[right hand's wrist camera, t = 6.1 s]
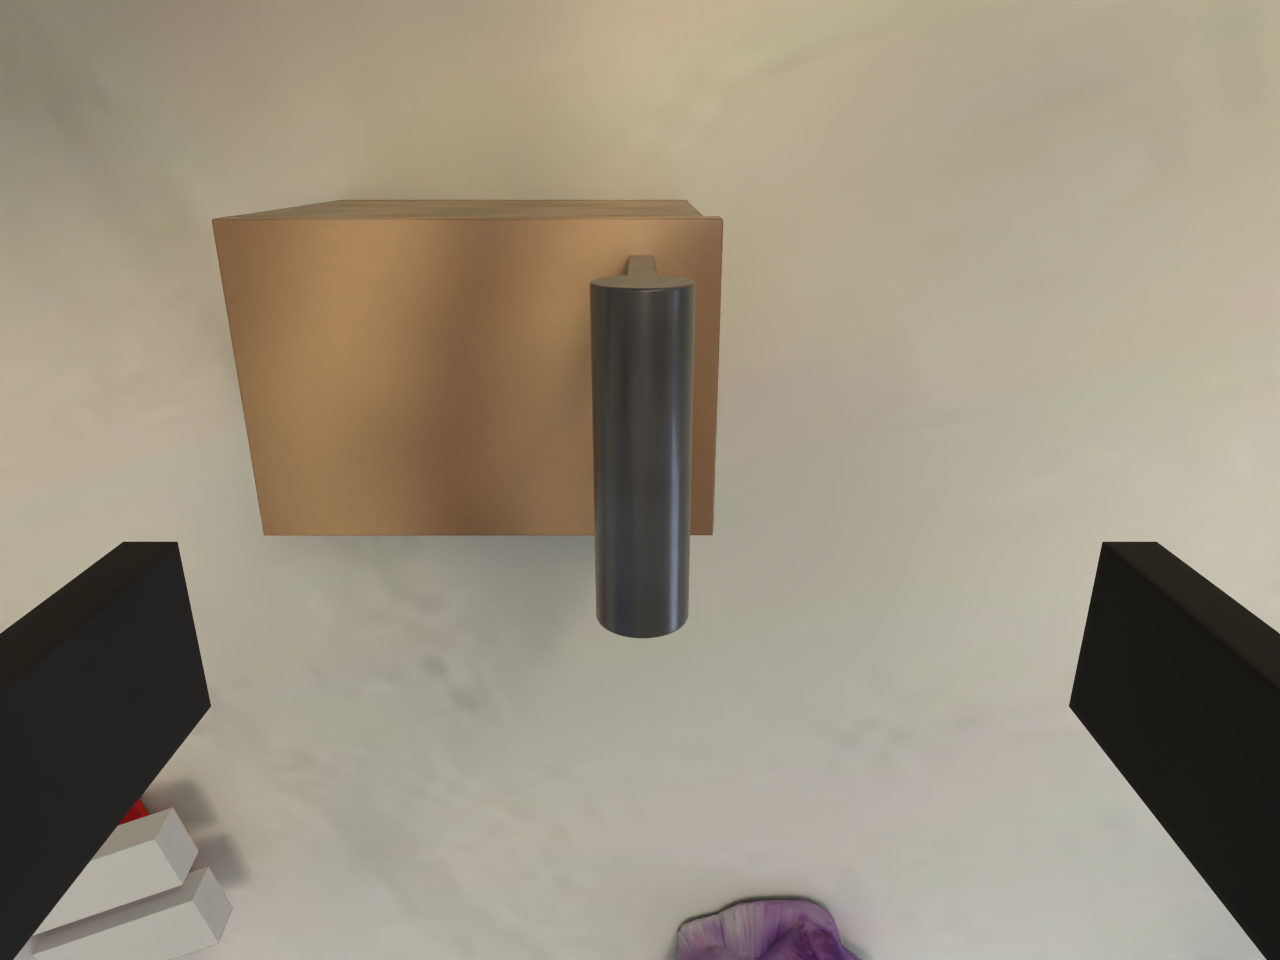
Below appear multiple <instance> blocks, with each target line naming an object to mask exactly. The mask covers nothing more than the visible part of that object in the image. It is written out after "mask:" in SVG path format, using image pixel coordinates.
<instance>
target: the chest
mask: <svg viewBox="0 0 1280 960" xmlns="http://www.w3.org/2000/svg"><path fill="white" fill-rule="evenodd" d="M238 216H703V215H702V214H701V213H699V212H698V211H697V210H696V209H695V208H694V207H693V206H692V205H691V204H690V203H689V202H688V201H687V200H338V201H332V202H326V203H319V204H312V205H305V206H299V207H292V208H285V209H278V210H271V211H265V212H258V213H251V214H244V215H238Z"/></svg>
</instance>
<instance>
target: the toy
mask: <svg viewBox="0 0 1280 960" xmlns="http://www.w3.org/2000/svg"><path fill="white" fill-rule="evenodd" d="M198 852H199V850H198V848H197V847H196V845H195V843H194V842H193V840H192V838H191V837H190V835H189V833H188V832H187V830H186V828H185V827H184V825H183V823H182V822H181V820H180V818H179V817H178V815H177V813H176V812H175V810H174V808H173V807H172V808H169V809H166V810H163V811H160V812H157V813H154V814H151V815H150V814H149V813H148V811H147V810H146V808H145V807H144V805H143V803H142V802H141V800H140V799H138V800H137V802H136V803H135V804H134V806H133V807H132V808H131V809H130V811H129V812H128V813H127V815H126V816H125V817H124V818H123V820H122V821H121V822H120V824H119V825H118V826H117V827H116V829H115V830H114V831H113V833H112V834H111V835H110V836H109V838H108V839H107V840H106V842H105V843H104V844H103V845H102V847H101V848H100V849H99V850H98V852H97V853H96V854H95V856H94V857H93V858H92V859H91V861H90V862H89V863H88V865H87V866H86V867H85V868H84V870H83V871H82V872H81V874H80V875H79V876H78V877H77V879H76V880H75V881H74V883H73V884H72V885H71V886H70V888H69V889H68V890H67V892H66V893H65V894H64V895H63V897H62V898H61V899H60V901H59V902H58V903H57V904H56V906H55V907H54V908H53V909H52V911H51V912H50V913H49V915H48V916H47V917H46V918H45V920H44V921H43V922H42V924H41V925H40V926H39V927H38V929H37V930H36V931H35V933H34V934H33V935H32V936H31V938H30V939H29V940H28V942H27V943H26V944H25V945H24V947H23V948H22V949H21V951H20V952H19V953H18V954H17V956H16V957H15V958H14V959H13V960H171V959H174V958H177V957H180V956H183V955H186V954H189V953H192V952H194V951H197V950H200V949H203V948H206V947H209V946H212V945H215V944H218V943H219V941H220V939H221V936H222V934H223V931H224V929H225V926H226V924H227V921H228V919H229V916H230V914H231V911H232V909H233V907H232V905H231V903H230V902H229V900H228V898H227V897H226V895H225V893H224V892H223V890H222V888H221V887H220V885H219V883H218V882H217V880H216V878H215V877H214V875H213V873H212V872H211V870H210V868H209V867H205V868H202V869H199V870H196V871H193V872H190V873H189V871H190V869H191V867H192V864H193V862H194V860H195V858H196V856H197V854H198Z"/></svg>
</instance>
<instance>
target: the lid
mask: <svg viewBox="0 0 1280 960" xmlns="http://www.w3.org/2000/svg"><path fill="white" fill-rule="evenodd" d="M212 224H213V230H214V236H215V242H216V248H217V254H218V260H219V266H220V272H221V278H222V284H223V290H224V296H225V302H226V308H227V314H228V320H229V326H230V332H231V338H232V344H233V351H234V357H235V363H236V369H237V375H238V381H239V387H240V393H241V399H242V405H243V411H244V417H245V423H246V429H247V435H248V441H249V447H250V453H251V459H252V465H253V471H254V477H255V483H256V489H257V495H258V501H259V507H260V513H261V519H262V525H263V531H264V535H595V574H596V616H597V619H598V621H599V623H600V624H601V625H602V626H603V627H604V628H605V629H607V630H608V631H610V632H613V633H615V634H618V635H621V636H626V637H632V638H653V637H659V636H663V635H667V634H670V633H672V632H674V631H676V630H678V629H679V628H681V627H682V626H683V625H684V624H685V622H686V620H687V618H688V602H689V557H690V535H713V519H714V488H715V457H716V426H717V395H718V364H719V333H720V302H721V271H722V239H723V219H722V218H720V217H718V216H229V217H222V218H216V219H212Z"/></svg>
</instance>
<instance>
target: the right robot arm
mask: <svg viewBox="0 0 1280 960" xmlns="http://www.w3.org/2000/svg"><path fill="white" fill-rule="evenodd" d="M210 707H211V704H210V699H209V694H208V689H207V684H206V679H205V674H204V670H203V665H202V660H201V655H200V650H199V645H198V640H197V635H196V630H195V626H194V621H193V616H192V611H191V606H190V601H189V596H188V591H187V586H186V582H185V577H184V572H183V567H182V562H181V557H180V552H179V547H178V542H123V543H121V544H120V545H119V546H117V547H116V548H115V549H113V550H112V551H111V552H109V553H108V554H107V555H105V556H104V557H102V558H101V559H100V560H98V561H97V562H96V563H94V564H93V565H92V566H90V567H89V568H88V569H86V570H85V571H84V572H82V573H81V574H80V575H78V576H77V577H76V578H74V579H73V580H72V581H70V582H69V583H68V584H66V585H65V586H64V587H62V588H61V589H60V590H58V591H57V592H56V593H54V594H53V595H52V596H50V597H49V598H48V599H46V600H45V601H44V602H42V603H41V604H40V605H38V606H37V607H36V608H34V609H33V610H32V611H30V612H29V613H27V614H26V615H25V616H23V617H22V618H21V619H19V620H18V621H17V622H15V623H14V624H13V625H11V626H10V627H9V628H7V629H6V630H5V631H3V632H2V633H1V634H0V960H13V959H14V958H15V957H16V956H17V954H18V953H19V952H20V951H21V949H22V948H23V947H24V945H25V944H26V943H27V942H28V940H29V939H30V938H31V936H32V935H33V934H34V933H35V931H36V930H37V929H38V927H39V926H40V925H41V924H42V922H43V921H44V920H45V918H46V917H47V916H48V915H49V913H50V912H51V911H52V909H53V908H54V907H55V906H56V904H57V903H58V902H59V901H60V899H61V898H62V897H63V895H64V894H65V893H66V892H67V890H68V889H69V888H70V886H71V885H72V884H73V883H74V881H75V880H76V879H77V877H78V876H79V875H80V874H81V872H82V871H83V870H84V868H85V867H86V866H87V865H88V863H89V862H90V861H91V859H92V858H93V857H94V856H95V854H96V853H97V852H98V850H99V849H100V848H101V847H102V845H103V844H104V843H105V842H106V840H107V839H108V838H109V836H110V835H111V834H112V833H113V831H114V830H115V829H116V827H117V826H118V825H119V824H120V822H121V821H122V820H123V818H124V817H125V816H126V815H127V813H128V812H129V811H130V809H131V808H132V807H133V806H134V804H135V803H136V802H137V800H138V799H139V798H140V797H141V795H142V794H143V793H144V792H145V790H146V789H147V788H148V786H149V785H150V784H151V783H152V781H153V780H154V779H155V777H156V776H157V775H158V774H159V772H160V771H161V770H162V768H163V767H164V766H165V765H166V763H167V762H168V761H169V759H170V758H171V757H172V756H173V754H174V753H175V752H176V750H177V749H178V748H179V747H180V745H181V744H182V743H183V742H184V740H185V739H186V738H187V736H188V735H189V734H190V733H191V731H192V730H193V729H194V727H195V726H196V725H197V724H198V722H199V721H200V720H201V718H202V717H203V716H204V715H205V713H206V712H207V711H208V709H209V708H210ZM1069 707H1070V708H1071V709H1072V711H1073V712H1074V713H1075V715H1076V716H1077V717H1078V718H1079V720H1080V721H1081V722H1082V724H1083V725H1084V726H1085V727H1086V729H1087V730H1088V731H1089V733H1090V734H1091V735H1092V736H1093V738H1094V739H1095V740H1096V742H1097V743H1098V744H1099V745H1100V747H1101V748H1102V749H1103V750H1104V752H1105V753H1106V754H1107V756H1108V757H1109V758H1110V759H1111V761H1112V762H1113V763H1114V765H1115V766H1116V767H1117V768H1118V770H1119V771H1120V772H1121V774H1122V775H1123V776H1124V777H1125V779H1126V780H1127V781H1128V783H1129V784H1130V785H1131V786H1132V788H1133V789H1134V790H1135V792H1136V793H1137V794H1138V795H1139V797H1140V798H1141V799H1142V800H1143V802H1144V803H1145V804H1146V806H1147V807H1148V808H1149V809H1150V811H1151V812H1152V813H1153V815H1154V816H1155V817H1156V818H1157V820H1158V821H1159V822H1160V824H1161V825H1162V826H1163V827H1164V829H1165V830H1166V831H1167V833H1168V834H1169V835H1170V836H1171V838H1172V839H1173V840H1174V842H1175V843H1176V844H1177V845H1178V847H1179V848H1180V849H1181V850H1182V852H1183V853H1184V854H1185V856H1186V857H1187V858H1188V859H1189V861H1190V862H1191V863H1192V865H1193V866H1194V867H1195V868H1196V870H1197V871H1198V872H1199V874H1200V875H1201V876H1202V877H1203V879H1204V880H1205V881H1206V883H1207V884H1208V885H1209V886H1210V888H1211V889H1212V890H1213V892H1214V893H1215V894H1216V895H1217V897H1218V898H1219V899H1220V901H1221V902H1222V903H1223V904H1224V906H1225V907H1226V908H1227V909H1228V911H1229V912H1230V913H1231V915H1232V916H1233V917H1234V918H1235V920H1236V921H1237V922H1238V924H1239V925H1240V926H1241V927H1242V929H1243V930H1244V931H1245V933H1246V934H1247V935H1248V936H1249V938H1250V939H1251V940H1252V942H1253V943H1254V944H1255V945H1256V947H1257V948H1258V949H1259V951H1260V952H1261V953H1262V954H1263V956H1264V957H1265V958H1266V959H1267V960H1280V634H1279V633H1278V632H1277V631H1275V630H1274V629H1273V628H1271V627H1270V626H1269V625H1267V624H1266V623H1265V622H1263V621H1262V620H1261V619H1259V618H1258V617H1257V616H1255V615H1254V614H1253V613H1251V612H1250V611H1248V610H1247V609H1246V608H1244V607H1243V606H1242V605H1240V604H1239V603H1238V602H1236V601H1235V600H1234V599H1232V598H1231V597H1230V596H1228V595H1227V594H1226V593H1224V592H1223V591H1222V590H1220V589H1219V588H1218V587H1216V586H1215V585H1214V584H1212V583H1211V582H1210V581H1208V580H1207V579H1206V578H1204V577H1203V576H1202V575H1200V574H1199V573H1198V572H1196V571H1195V570H1194V569H1192V568H1191V567H1190V566H1188V565H1187V564H1186V563H1184V562H1183V561H1182V560H1180V559H1179V558H1178V557H1176V556H1175V555H1173V554H1172V553H1171V552H1169V551H1168V550H1167V549H1165V548H1164V547H1163V546H1161V545H1160V544H1159V543H1157V542H1102V547H1101V552H1100V557H1099V562H1098V567H1097V572H1096V577H1095V582H1094V586H1093V591H1092V596H1091V601H1090V606H1089V611H1088V616H1087V621H1086V626H1085V630H1084V635H1083V640H1082V645H1081V650H1080V655H1079V660H1078V665H1077V670H1076V674H1075V679H1074V684H1073V689H1072V694H1071V699H1070V704H1069Z"/></svg>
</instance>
